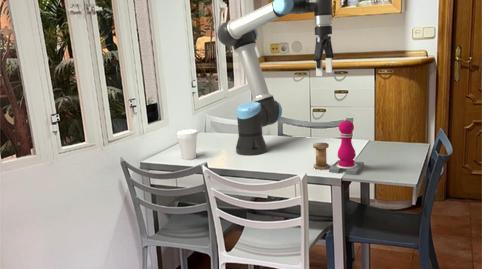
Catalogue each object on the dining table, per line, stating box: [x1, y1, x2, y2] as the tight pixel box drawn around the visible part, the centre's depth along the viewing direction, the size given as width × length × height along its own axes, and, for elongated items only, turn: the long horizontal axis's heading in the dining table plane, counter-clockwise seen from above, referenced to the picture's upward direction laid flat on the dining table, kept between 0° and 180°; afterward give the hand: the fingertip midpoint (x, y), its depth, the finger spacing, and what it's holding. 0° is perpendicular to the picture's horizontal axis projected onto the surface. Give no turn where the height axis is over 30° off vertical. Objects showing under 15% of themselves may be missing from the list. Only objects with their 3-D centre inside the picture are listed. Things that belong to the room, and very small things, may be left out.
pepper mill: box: [337, 116, 357, 167], centre depth 188 cm, size 7×7×20 cm
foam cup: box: [176, 129, 198, 161], centre depth 221 cm, size 10×9×13 cm
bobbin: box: [312, 142, 330, 171], centre depth 193 cm, size 6×6×10 cm
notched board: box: [328, 159, 365, 176], centre depth 190 cm, size 11×13×2 cm
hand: (324, 74), depth 207 cm, fingers open, 13 cm apart
